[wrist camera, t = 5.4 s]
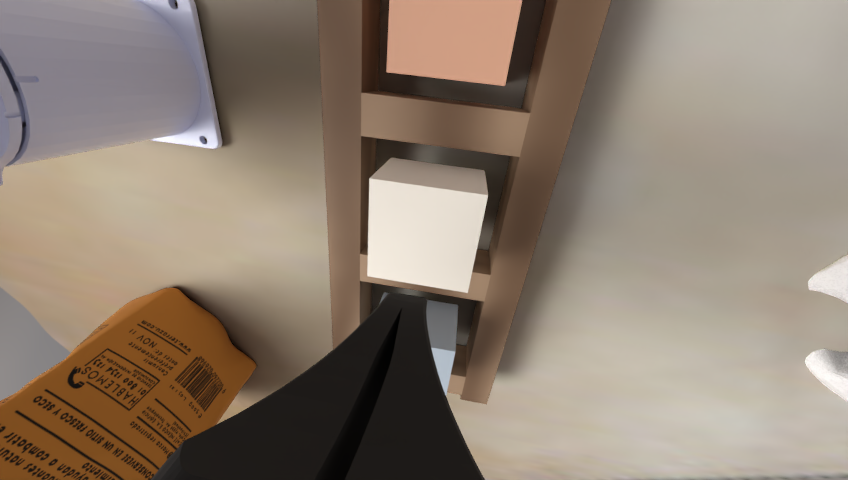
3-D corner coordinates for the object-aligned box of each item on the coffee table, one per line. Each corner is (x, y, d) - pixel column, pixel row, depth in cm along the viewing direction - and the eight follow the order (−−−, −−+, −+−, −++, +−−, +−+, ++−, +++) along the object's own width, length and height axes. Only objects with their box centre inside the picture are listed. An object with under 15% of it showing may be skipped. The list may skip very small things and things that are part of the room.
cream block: (386, 239, 19) (367, 276, 16) (391, 157, 17) (369, 178, 13) (468, 252, 19) (467, 292, 15) (484, 170, 16) (488, 195, 13)
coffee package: (206, 393, 34) (-156, 820, 14) (114, 306, 29) (-594, 756, 10) (274, 373, 30) (-71, 887, 11) (182, 273, 26) (-654, 835, 7)
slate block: (381, 346, 23) (364, 393, 20) (384, 292, 21) (366, 335, 17) (447, 358, 23) (443, 409, 19) (458, 304, 21) (455, 351, 17)
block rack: (347, 346, 27) (334, 374, 25) (339, -161, 13) (306, -220, 11) (485, 371, 26) (486, 404, 24) (631, -143, 12) (673, -203, 10)
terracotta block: (404, 73, 17) (386, 72, 13) (412, -49, 14) (393, -90, 11) (497, 84, 16) (505, 86, 13) (521, -39, 14) (538, -79, 11)
